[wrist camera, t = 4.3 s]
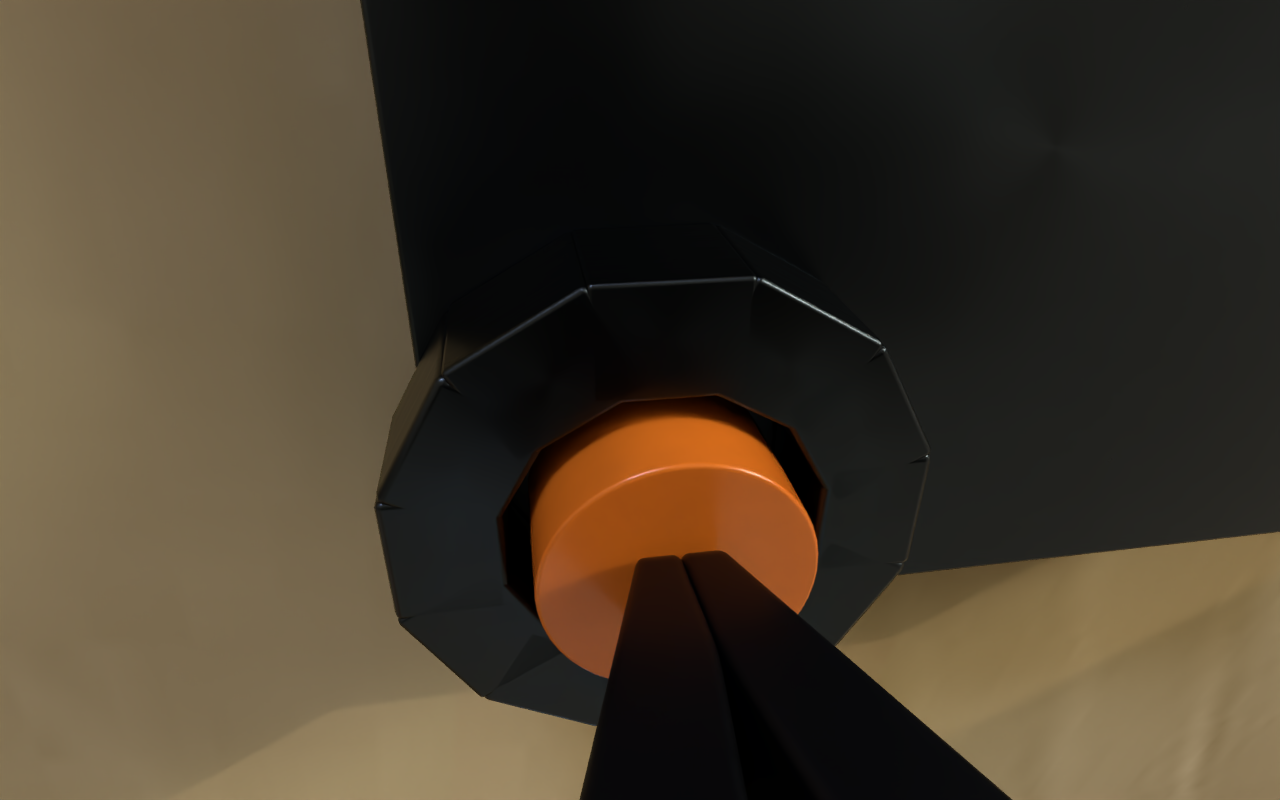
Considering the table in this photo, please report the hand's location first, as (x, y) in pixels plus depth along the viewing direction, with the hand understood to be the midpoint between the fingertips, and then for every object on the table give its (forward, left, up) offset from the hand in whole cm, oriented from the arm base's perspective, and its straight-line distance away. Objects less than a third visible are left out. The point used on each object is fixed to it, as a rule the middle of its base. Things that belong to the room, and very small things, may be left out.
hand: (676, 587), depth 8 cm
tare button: (0, 0, -2) cm, 2 cm away
